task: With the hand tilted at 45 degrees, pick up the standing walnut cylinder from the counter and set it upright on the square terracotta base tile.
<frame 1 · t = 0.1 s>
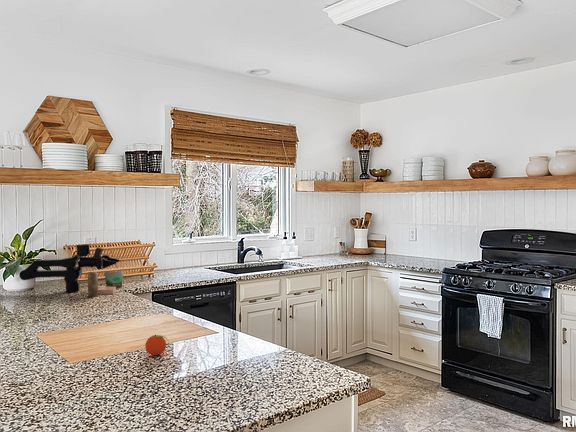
hand: (117, 261, 291), 17 cm above the counter, tool horizontal, fingers open, 9 cm apart
walnut cylinder: (93, 296, 273), on the counter
food container: (116, 288, 298), on the counter
terracotta base: (106, 292, 283), on the counter
tomato: (157, 355, 172), on the counter
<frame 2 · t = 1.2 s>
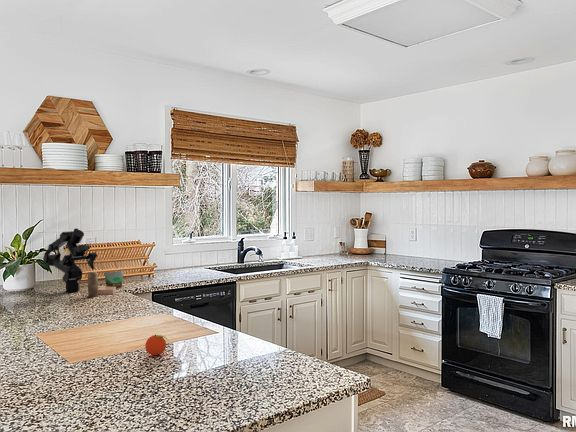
hand: (85, 269, 278), 14 cm above the counter, tool tilted 45°, fingers open, 9 cm apart
nothing on the counter moved.
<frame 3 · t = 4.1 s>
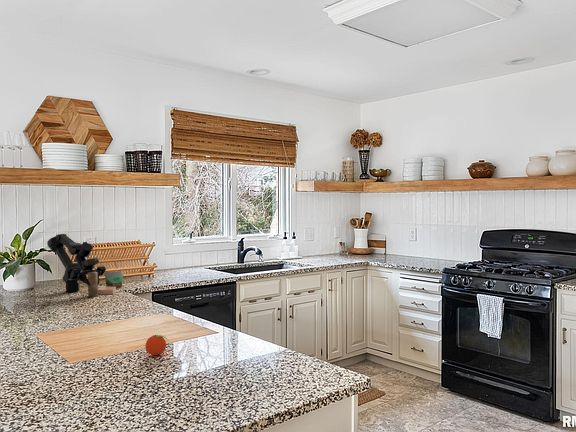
hand: (94, 284, 272), 7 cm above the counter, tool tilted 45°, fingers closed on walnut cylinder, 5 cm apart
walnut cylinder: (93, 296, 273), on the counter, touching gripper
everything else where it was.
when the fingers open (10 cm above the counter, at t = 7.7 s): walnut cylinder stays where it is, resting on terracotta base.
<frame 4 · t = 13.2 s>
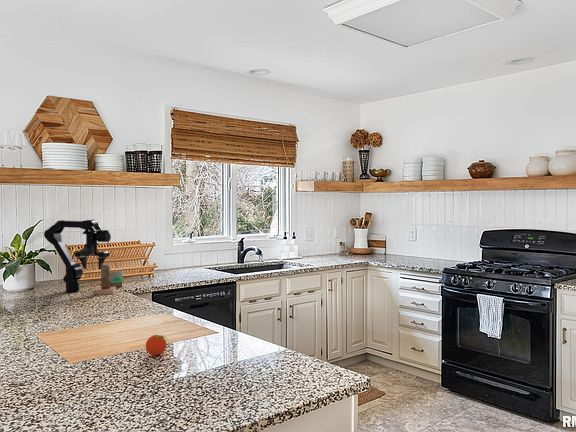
hand: (92, 269, 285), 13 cm above the counter, tool pointing down, fingers open, 9 cm apart
walnut cylinder: (106, 288, 283), point 3 cm above the counter, touching terracotta base
everything else where it was.
at the end: walnut cylinder 0.0 cm off-centre on the terracotta base, point 2.5 cm above the terracotta base's base; walnut cylinder tilted 0°; the gripper is holding nothing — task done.
